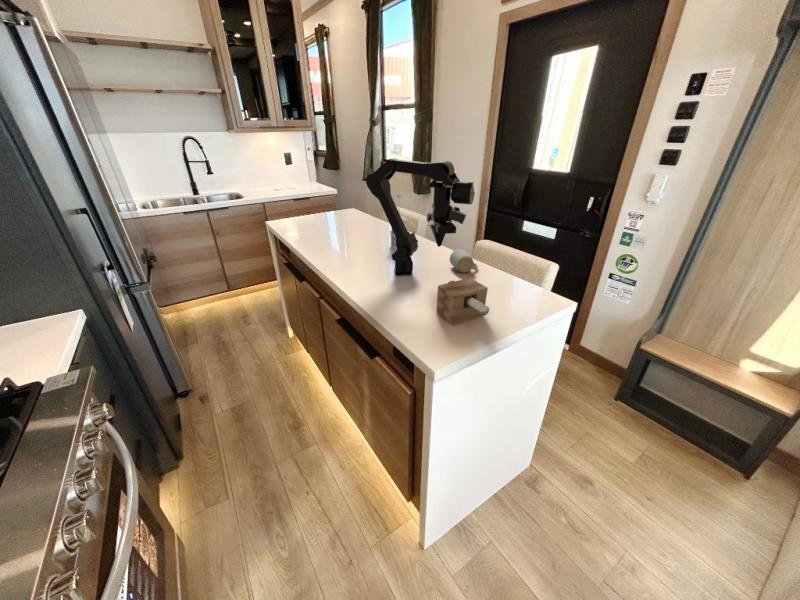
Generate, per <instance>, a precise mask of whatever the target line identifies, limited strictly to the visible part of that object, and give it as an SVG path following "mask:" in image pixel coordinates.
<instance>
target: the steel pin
mask: <svg viewBox="0 0 800 600" xmlns="http://www.w3.org/2000/svg"><path fill="white" fill-rule="evenodd" d="M455 281H456V280H449V281H448V282H447V283H451V282H455ZM464 303H465V304H466V305H468V306H469V307H471V308H472V309H474V310H475V311H476V312H478V313H479V314H481V315H482V316H481V317H485V316H487V315H488V314H489V312H490V307H489V306H487V305H486V304H485V305H484V304H483V303H481V302H480V301H478V300H476V299H475V298H473V297H472V296H466V297H464Z"/></svg>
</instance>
